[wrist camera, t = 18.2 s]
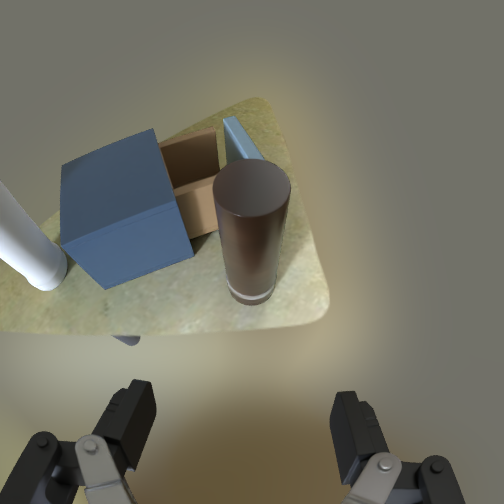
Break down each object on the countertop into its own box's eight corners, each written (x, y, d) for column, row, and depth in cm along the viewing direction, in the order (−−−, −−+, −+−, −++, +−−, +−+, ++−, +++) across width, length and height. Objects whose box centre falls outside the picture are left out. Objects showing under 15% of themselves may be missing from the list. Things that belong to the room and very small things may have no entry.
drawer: (247, 160, 33) (246, 112, 27) (279, 215, 29) (285, 166, 23) (164, 187, 31) (148, 140, 25) (184, 249, 27) (167, 204, 21)
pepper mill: (226, 305, 26) (206, 216, 14) (230, 262, 27) (216, 156, 16) (274, 307, 25) (293, 219, 14) (275, 264, 27) (290, 159, 16)
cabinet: (170, 186, 32) (153, 127, 25) (195, 256, 28) (176, 200, 20) (94, 216, 30) (61, 165, 23) (105, 290, 26) (60, 246, 19)
